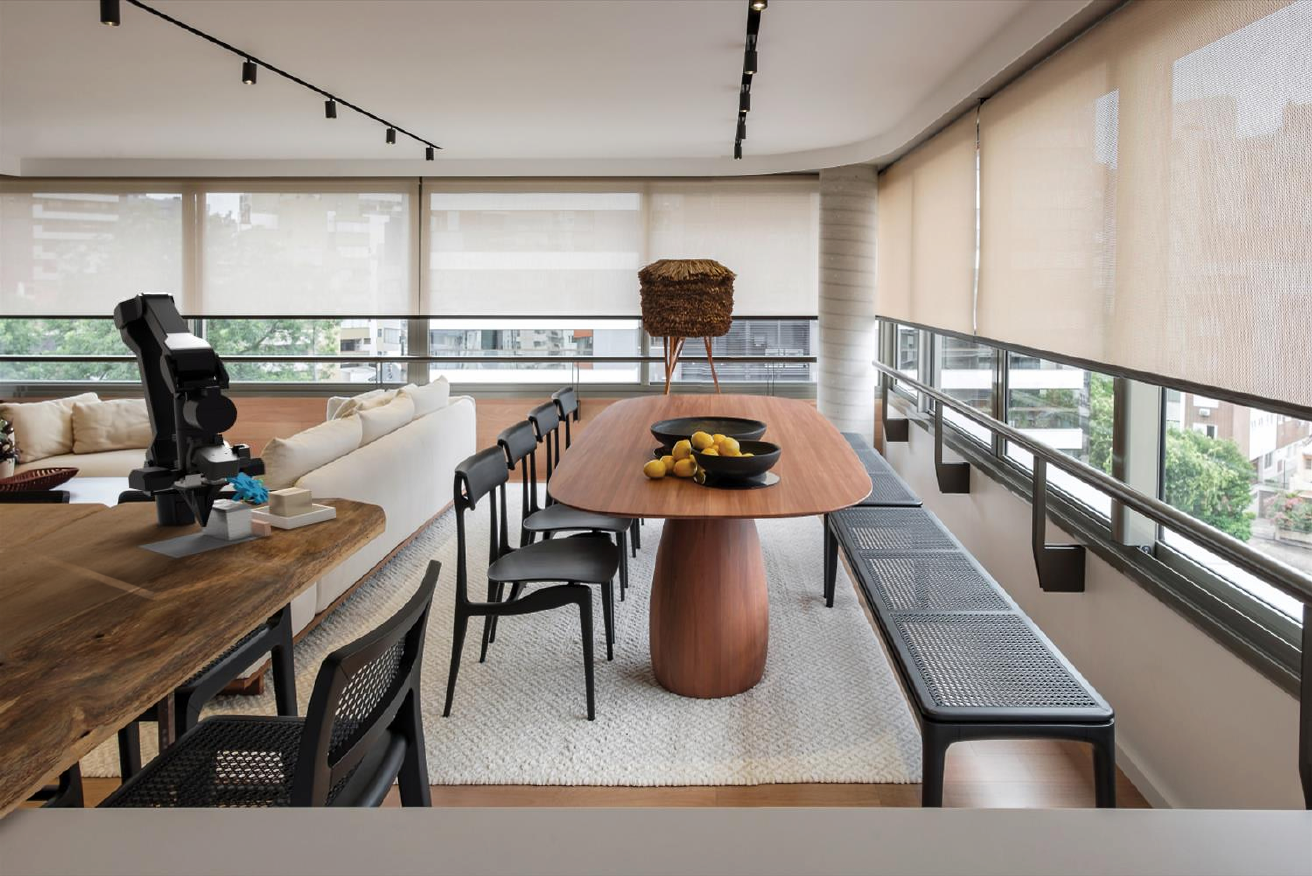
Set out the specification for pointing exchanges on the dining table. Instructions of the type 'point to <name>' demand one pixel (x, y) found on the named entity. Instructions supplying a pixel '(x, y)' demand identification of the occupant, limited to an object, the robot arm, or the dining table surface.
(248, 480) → the blue toy piece
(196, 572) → the dining table surface
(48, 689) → the dining table surface
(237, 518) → the grey square block
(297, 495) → the block
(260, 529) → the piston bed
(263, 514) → the tray
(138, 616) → the dining table surface
